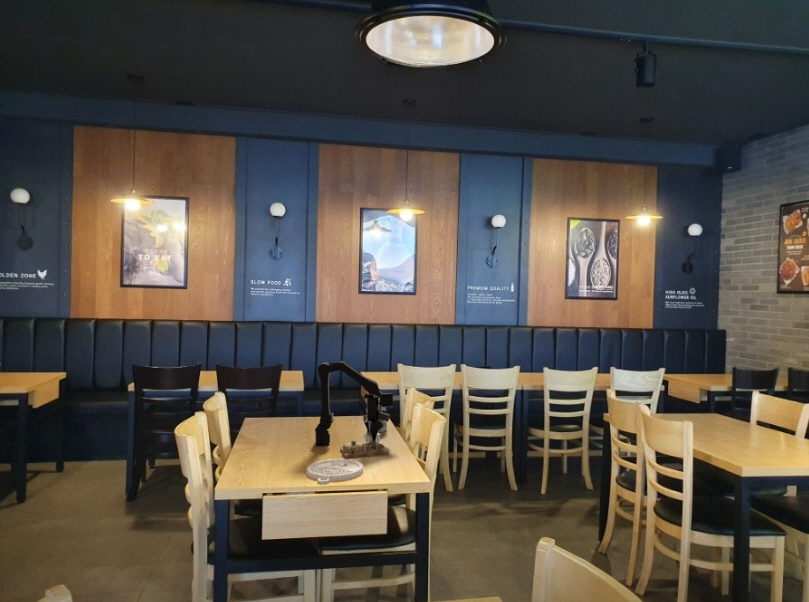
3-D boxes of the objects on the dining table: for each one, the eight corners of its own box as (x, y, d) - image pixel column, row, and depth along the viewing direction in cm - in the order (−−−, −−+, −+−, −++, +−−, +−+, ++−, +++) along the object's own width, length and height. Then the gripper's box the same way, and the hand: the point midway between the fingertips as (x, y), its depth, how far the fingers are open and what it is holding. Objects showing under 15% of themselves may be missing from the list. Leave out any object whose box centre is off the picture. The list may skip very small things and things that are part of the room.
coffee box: (387, 429, 307) (387, 400, 307) (381, 432, 302) (381, 402, 301) (372, 428, 311) (372, 398, 311) (366, 430, 305) (366, 400, 305)
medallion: (370, 465, 245) (370, 460, 244) (350, 486, 218) (350, 480, 218) (319, 462, 250) (319, 457, 250) (293, 482, 224) (293, 476, 223)
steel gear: (366, 443, 275) (366, 436, 275) (363, 440, 282) (363, 432, 282) (381, 442, 277) (381, 435, 277) (378, 439, 284) (378, 431, 284)
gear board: (345, 458, 254) (345, 446, 254) (340, 450, 268) (340, 438, 268) (388, 454, 260) (388, 442, 260) (381, 446, 273) (381, 435, 273)
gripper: (393, 409, 272) (393, 442, 272) (384, 402, 290) (384, 433, 290) (370, 411, 269) (370, 444, 269) (362, 403, 287) (362, 434, 287)
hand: (372, 438), depth 279 cm, fingers closed on steel gear, 7 cm apart
